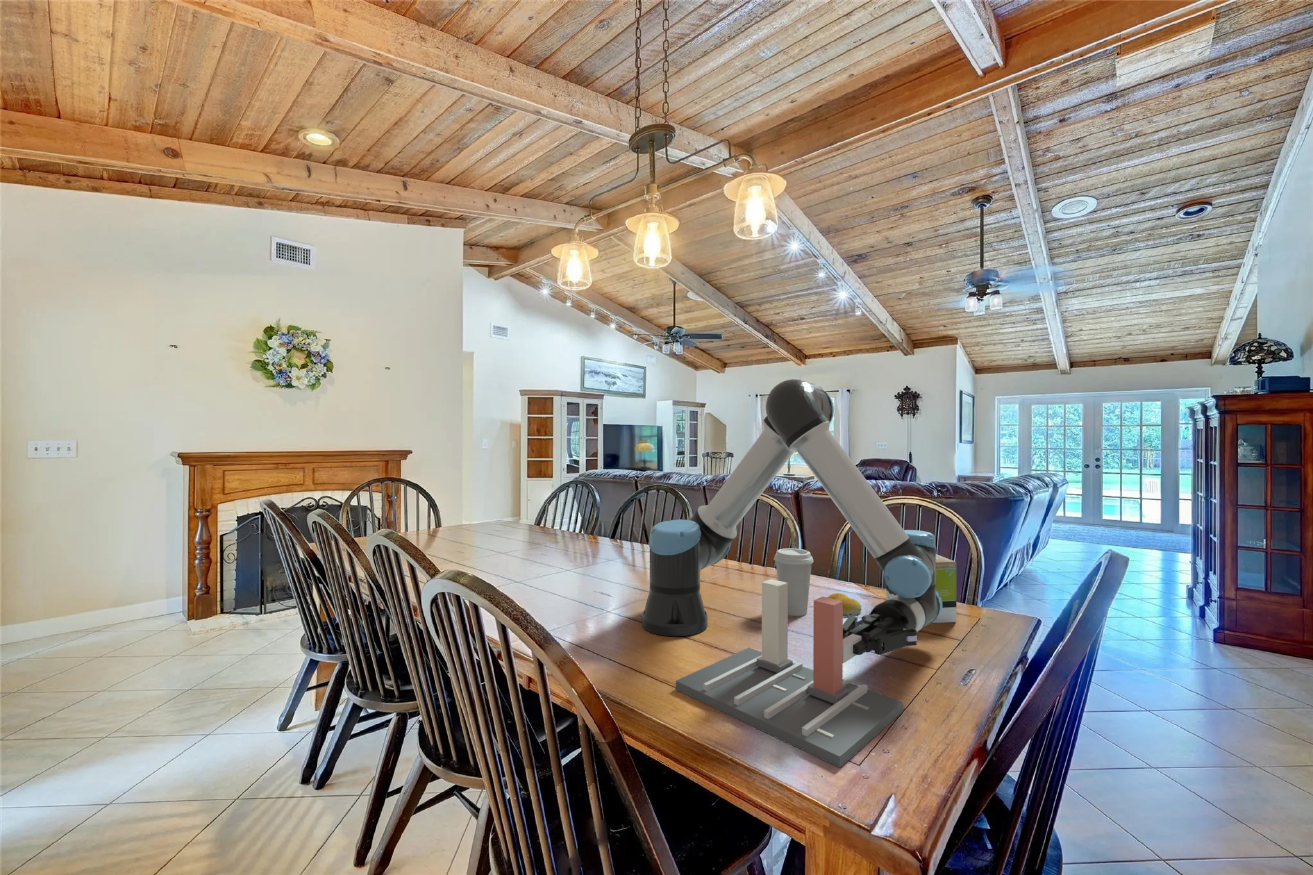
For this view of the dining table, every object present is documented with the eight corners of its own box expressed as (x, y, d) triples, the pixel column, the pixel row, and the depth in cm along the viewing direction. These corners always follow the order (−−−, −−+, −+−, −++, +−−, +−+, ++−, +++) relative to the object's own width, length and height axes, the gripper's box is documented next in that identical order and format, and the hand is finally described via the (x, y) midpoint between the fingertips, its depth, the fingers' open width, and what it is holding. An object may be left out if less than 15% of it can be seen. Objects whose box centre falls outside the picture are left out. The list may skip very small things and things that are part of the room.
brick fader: (807, 693, 86) (807, 599, 86) (819, 685, 89) (820, 594, 89) (836, 704, 83) (836, 607, 83) (848, 696, 86) (848, 601, 86)
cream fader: (756, 665, 97) (756, 581, 97) (769, 658, 100) (769, 577, 100) (780, 674, 93) (780, 587, 93) (792, 667, 96) (792, 583, 96)
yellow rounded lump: (842, 618, 128) (842, 602, 128) (818, 607, 137) (818, 592, 137) (869, 614, 131) (869, 598, 131) (844, 604, 139) (844, 588, 139)
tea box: (884, 604, 139) (884, 547, 139) (921, 603, 140) (921, 547, 140) (917, 624, 124) (917, 561, 124) (958, 623, 125) (958, 560, 125)
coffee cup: (815, 619, 127) (815, 556, 127) (774, 616, 129) (774, 554, 129) (811, 607, 136) (811, 548, 136) (773, 604, 138) (773, 546, 138)
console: (675, 689, 92) (675, 674, 92) (748, 654, 106) (748, 642, 106) (839, 767, 70) (839, 748, 70) (903, 710, 85) (903, 695, 85)
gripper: (932, 647, 98) (879, 690, 82) (863, 629, 108) (802, 664, 91) (933, 607, 98) (879, 641, 82) (863, 592, 108) (802, 620, 91)
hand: (839, 653), depth 86 cm, fingers closed
